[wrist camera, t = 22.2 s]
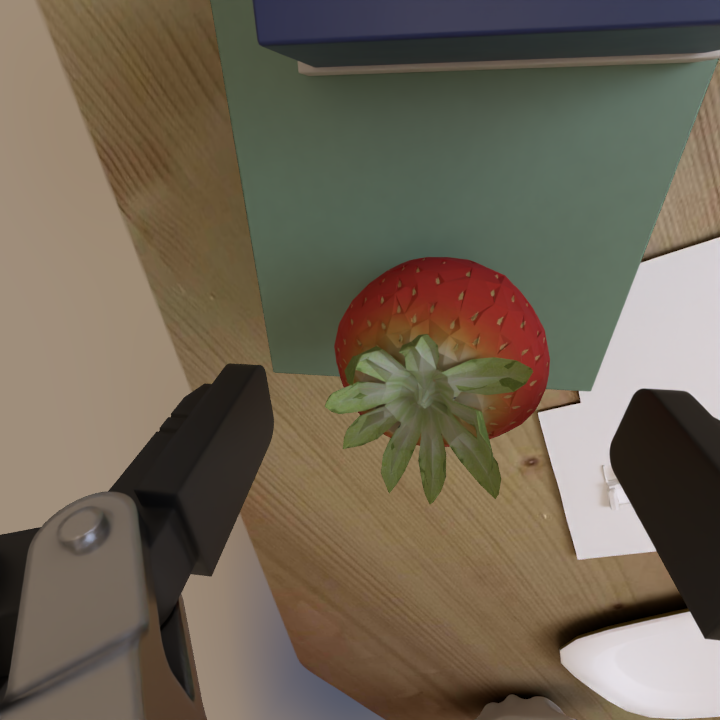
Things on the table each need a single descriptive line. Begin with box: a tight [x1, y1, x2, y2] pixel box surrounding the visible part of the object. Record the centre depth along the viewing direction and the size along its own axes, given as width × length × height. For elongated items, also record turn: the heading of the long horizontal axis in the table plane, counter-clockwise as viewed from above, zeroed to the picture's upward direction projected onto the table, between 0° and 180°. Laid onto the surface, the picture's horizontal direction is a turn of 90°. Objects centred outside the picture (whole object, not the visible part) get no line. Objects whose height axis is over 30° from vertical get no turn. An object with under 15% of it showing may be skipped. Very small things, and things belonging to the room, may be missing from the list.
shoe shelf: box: [210, 0, 718, 391], centre depth 14 cm, size 13×18×7 cm
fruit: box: [325, 257, 550, 504], centre depth 10 cm, size 5×5×8 cm
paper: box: [538, 237, 720, 560], centre depth 23 cm, size 25×17×1 cm
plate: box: [559, 608, 720, 719], centre depth 37 cm, size 22×22×2 cm
